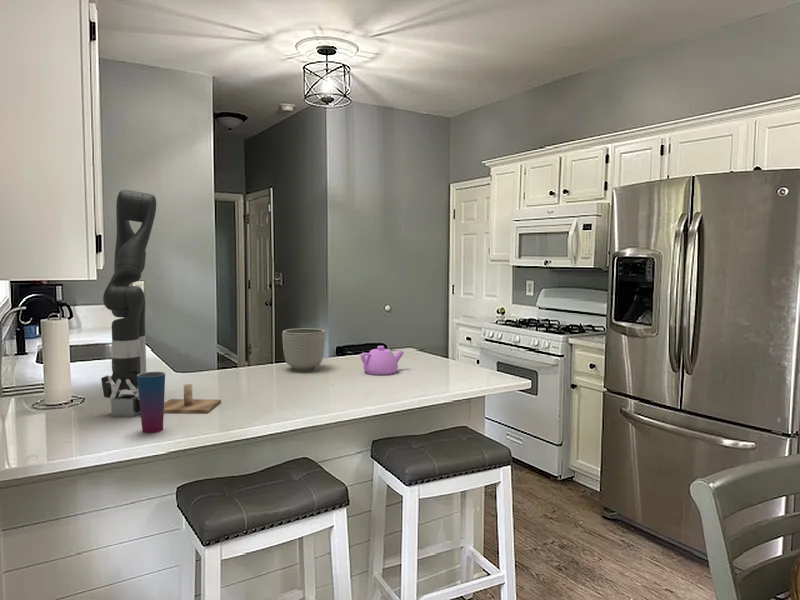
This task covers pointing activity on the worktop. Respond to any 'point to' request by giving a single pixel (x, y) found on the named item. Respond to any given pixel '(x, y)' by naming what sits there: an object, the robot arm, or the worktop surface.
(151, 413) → the cup
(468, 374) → the worktop surface
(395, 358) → the teapot
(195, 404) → the post board
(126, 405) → the collar
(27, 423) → the worktop surface
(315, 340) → the planter
